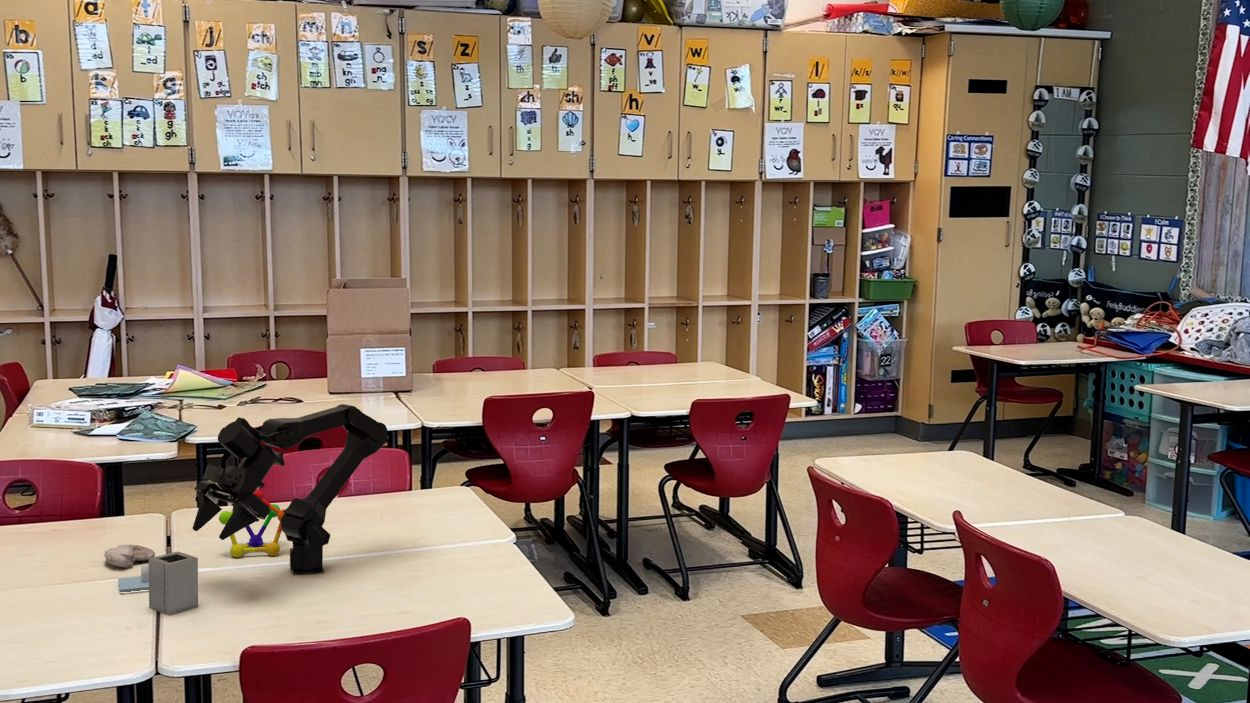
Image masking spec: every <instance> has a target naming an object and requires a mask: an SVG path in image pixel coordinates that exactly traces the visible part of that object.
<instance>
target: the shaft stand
mask: <svg viewBox="0 0 1250 703" xmlns="http://www.w3.org/2000/svg"><path fill="white" fill-rule="evenodd" d="M117 580H118V581H117V583H118V582H119V584H118V588H119V587H120V589H119V593H120V592H131V591H140V590H149V563H143V564H140V576H139V575H138V576H129V577H118V578H117Z"/></svg>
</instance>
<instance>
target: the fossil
mask: <svg viewBox="0 0 1250 703" xmlns="http://www.w3.org/2000/svg"><path fill="white" fill-rule="evenodd" d="M103 554H104V555H103V557H104V558H105V561H106V562H107V563H108V564H110V565H111V566H115V567H118V568H124V569H129V568H132V567H133V566H134V563H135V562H145V561H146V562H147V561H149V558H153V557H156V552H155V551H154V550H153V549H151V548H149V547H145V546H142V545H139V544H119V545H117V547H110V548H107V549H106V550H105V551H104V553H103Z"/></svg>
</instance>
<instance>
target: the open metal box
mask: <svg viewBox="0 0 1250 703" xmlns="http://www.w3.org/2000/svg"><path fill="white" fill-rule="evenodd" d="M148 564H149V592H148V608H149V609H152V610H153V611H156V612H159V613H162V614H165V615H167V616H170V615H175V614H179V613H182V612H185V611H190V610H192V609H196V608H199V559H198V557H196V556H193V555H191V554H187V553H184V552H181V551H174V552H171V553H166V554H162V555H158V556H155V557H153V558H149V560H148Z"/></svg>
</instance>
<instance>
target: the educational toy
mask: <svg viewBox="0 0 1250 703" xmlns="http://www.w3.org/2000/svg"><path fill="white" fill-rule="evenodd" d="M254 494H255V495H257V496H258V497H259V498H260V499H261V500H262V501H264V502H265V503H266V504H267V505H268V506H269V514H268V515H267V517H266V518H265V520H264V522H263V524H262V525H261V528H260V529H259V531H258V532H257V534H255V533H254V531H253V529H252V528H251V525H248V526H247V527H245V530H246V531H247V532H246V533H248V534H249V540H248V542H247V543H245V544H243V545H242V544H241V543H238V541H237V538H236V536H235V533H234V534H233V535H231V536H229V538H230V540H231V545H232V546H231V547H230V549H229V553H230V555H231V556H232V557H233V558H240V557H242V556H243V555H244V554H245V553H261V552H265V553H267V555H269V556H271V557H275V556H277V555H278V554H280V552H281V547H280V544H279V540H280V537H281V534H282V532H283V531H282V528H281V518H282V517H283V515H284V514H285V513H283V511H284V510H286V509H287V508H283V509H281V508H280V506H279V505H278V504H275V503H273V504H271V503H270V502H268V501H267V500H265V499H264V498H263V496H264V495H263V493H262V492H261V490H258V489H256V491H255V492H254ZM232 513H233V508H232V510H231V511H229V510H224V511H222V512H221V513H220V514H219V516H218V522H219V523H220V524H221V525H224V526H225V525H226V523H227V522H228V520H229V518H230V517H231V515H232ZM272 518H277V519H278V521H279V523H278V527H277V529H276V533H275V534H274V535H275V536H274V538H273V541H272V542H269V543H266V542H264V540H263V537H262V536H263V535H264V532H265V531H266V530H267V527H268V525H269V523H270V522H271V520H272Z"/></svg>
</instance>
